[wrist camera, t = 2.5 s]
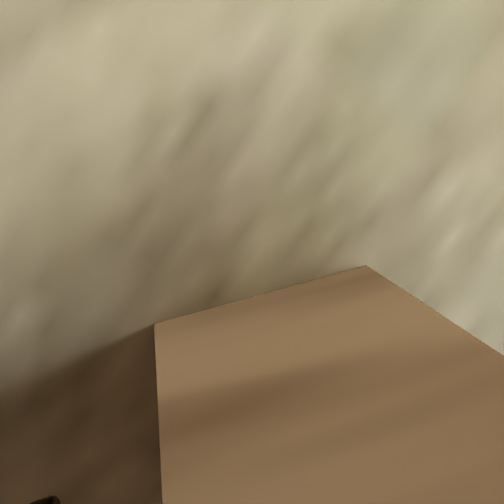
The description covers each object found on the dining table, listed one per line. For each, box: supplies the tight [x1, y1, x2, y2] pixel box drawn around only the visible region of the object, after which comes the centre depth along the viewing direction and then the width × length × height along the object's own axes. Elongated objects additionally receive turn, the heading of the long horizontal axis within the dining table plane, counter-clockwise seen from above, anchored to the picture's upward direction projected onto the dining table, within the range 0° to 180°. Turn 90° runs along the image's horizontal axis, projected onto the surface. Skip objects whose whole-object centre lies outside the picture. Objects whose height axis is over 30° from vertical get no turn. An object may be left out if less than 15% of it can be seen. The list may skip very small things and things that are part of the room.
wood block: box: [154, 266, 504, 504], centre depth 7 cm, size 4×4×6 cm
